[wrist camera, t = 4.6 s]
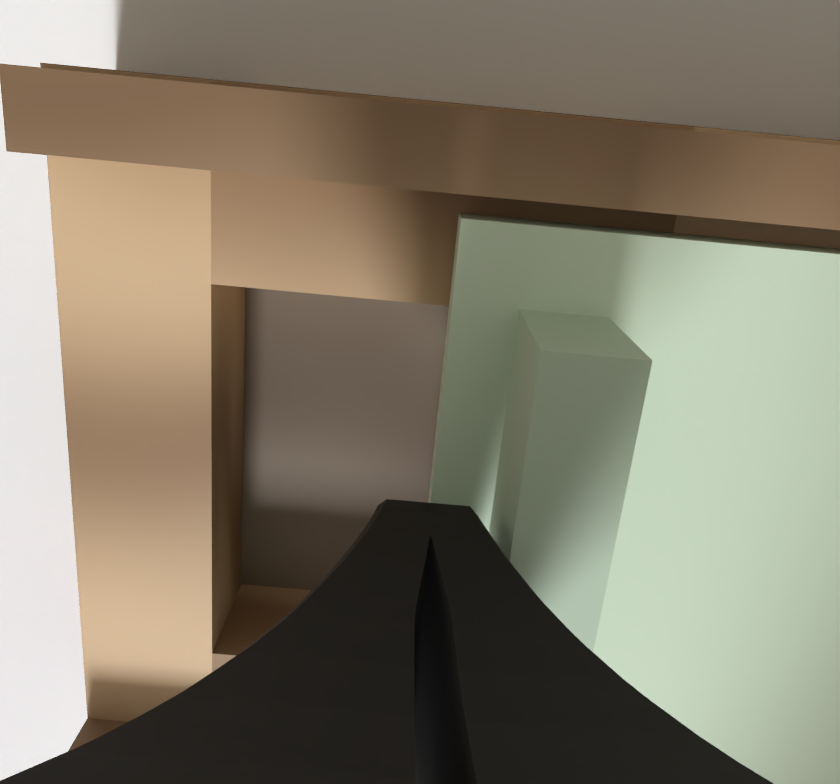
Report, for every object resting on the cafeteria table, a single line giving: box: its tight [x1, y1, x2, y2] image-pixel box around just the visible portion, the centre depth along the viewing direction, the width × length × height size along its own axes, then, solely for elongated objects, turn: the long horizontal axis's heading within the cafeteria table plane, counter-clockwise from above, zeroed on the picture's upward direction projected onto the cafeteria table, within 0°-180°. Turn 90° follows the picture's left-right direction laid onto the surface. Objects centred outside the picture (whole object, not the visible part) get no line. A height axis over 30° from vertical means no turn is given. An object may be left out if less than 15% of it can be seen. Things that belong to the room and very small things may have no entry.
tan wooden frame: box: [0, 63, 840, 752], centre depth 12 cm, size 12×18×3 cm, turn 85°
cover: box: [428, 213, 840, 784], centre depth 10 cm, size 9×8×3 cm
